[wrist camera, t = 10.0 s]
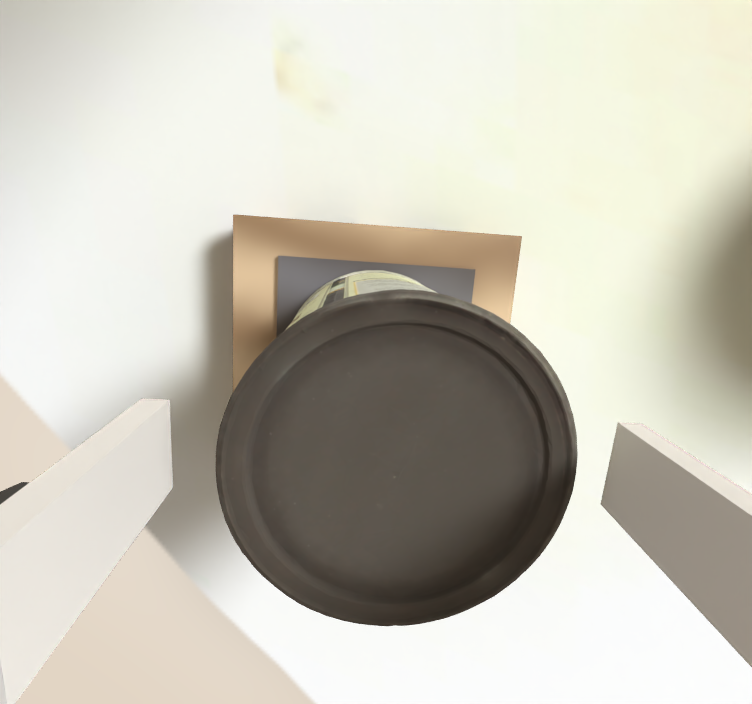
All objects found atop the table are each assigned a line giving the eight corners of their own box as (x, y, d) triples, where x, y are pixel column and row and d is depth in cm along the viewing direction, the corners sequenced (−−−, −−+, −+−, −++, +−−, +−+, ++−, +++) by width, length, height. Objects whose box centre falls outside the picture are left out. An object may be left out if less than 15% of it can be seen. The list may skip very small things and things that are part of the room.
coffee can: (443, 450, 28) (533, 643, 14) (275, 428, 27) (199, 612, 13) (478, 283, 26) (623, 323, 12) (296, 253, 25) (232, 261, 11)
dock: (245, 218, 28) (231, 214, 24) (504, 237, 29) (523, 236, 25) (244, 448, 31) (231, 471, 28) (476, 457, 32) (490, 481, 29)
